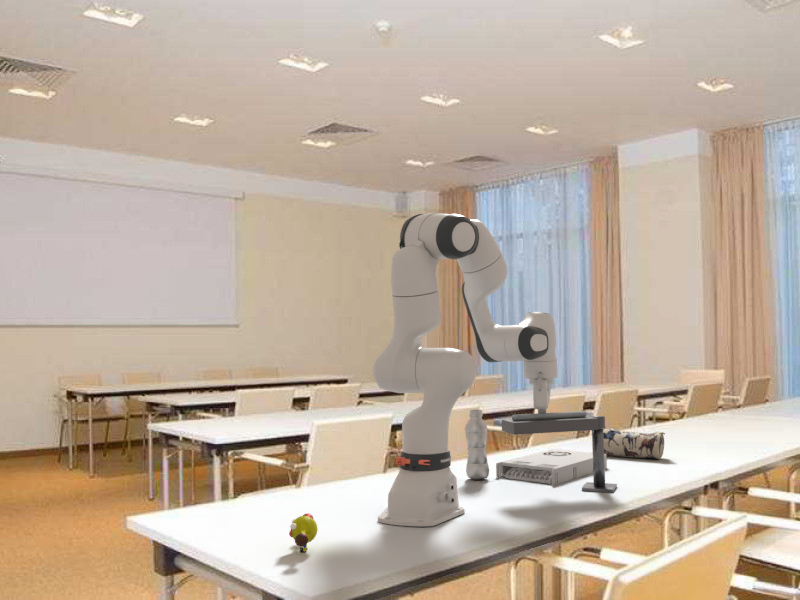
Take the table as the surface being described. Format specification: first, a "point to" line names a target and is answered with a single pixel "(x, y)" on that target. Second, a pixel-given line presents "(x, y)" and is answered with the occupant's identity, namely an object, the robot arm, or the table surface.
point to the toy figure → (303, 530)
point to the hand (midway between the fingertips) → (542, 422)
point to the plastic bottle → (476, 446)
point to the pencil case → (633, 444)
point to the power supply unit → (548, 466)
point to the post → (598, 466)
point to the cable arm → (552, 423)
